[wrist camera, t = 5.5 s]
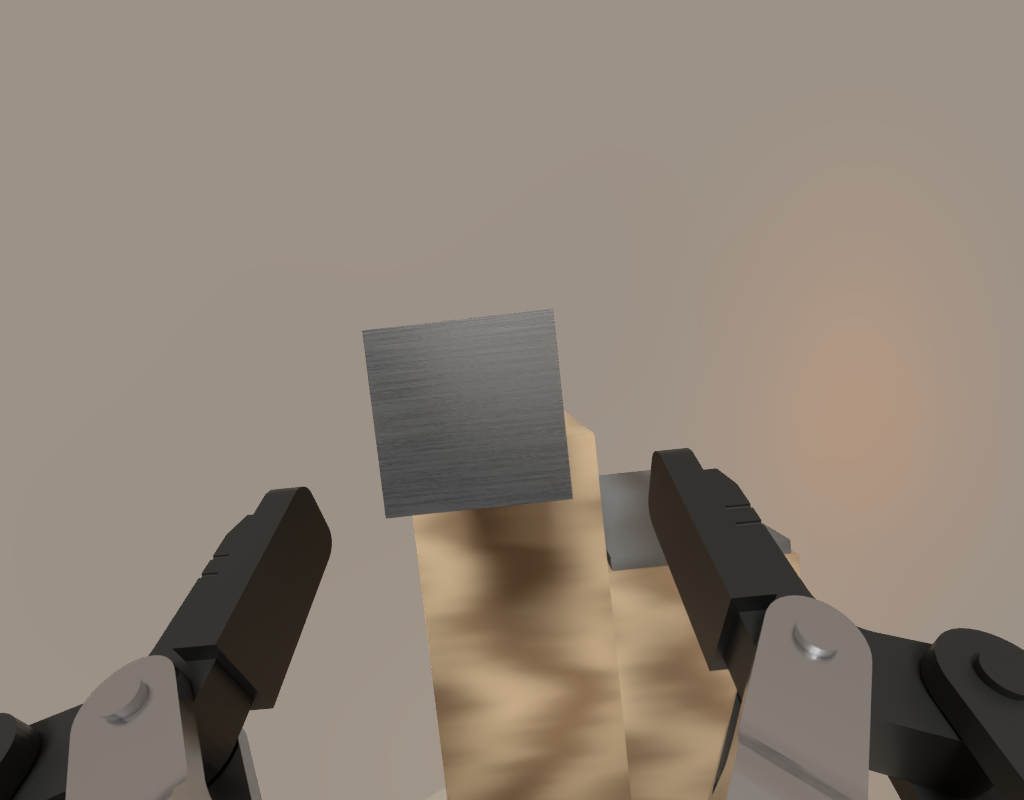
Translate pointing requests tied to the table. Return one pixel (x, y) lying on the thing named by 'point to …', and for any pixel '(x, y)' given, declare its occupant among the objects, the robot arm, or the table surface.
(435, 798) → the table surface
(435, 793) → the table surface
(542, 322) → the grey metal bar
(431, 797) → the table surface
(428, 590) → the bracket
